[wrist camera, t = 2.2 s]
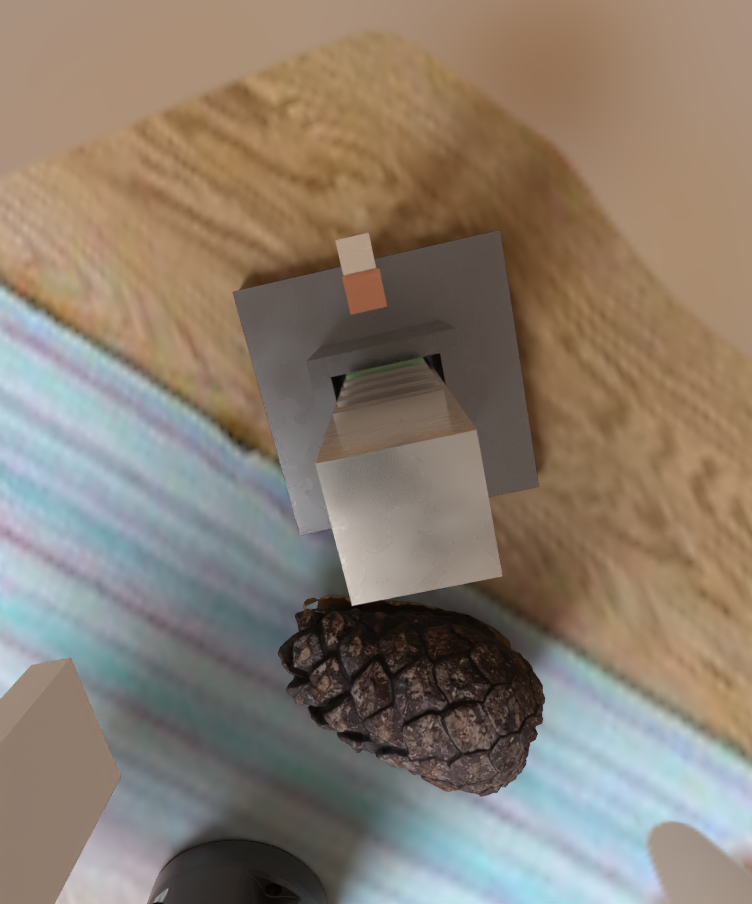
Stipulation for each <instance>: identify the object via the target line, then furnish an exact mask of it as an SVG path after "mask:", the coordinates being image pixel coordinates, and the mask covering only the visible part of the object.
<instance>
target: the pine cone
mask: <svg viewBox="0 0 752 904" xmlns="http://www.w3.org/2000/svg"><path fill="white" fill-rule="evenodd" d="M316 601H318V606H317V609H312V610H311V609H307V608H306V609H305V607H306V606H307V605H309V604H311V603H313V602H316ZM303 607H304V609H305V610H304V611H301V612H298V613H296V615H295V618H296V620H297V623H298V629H299V632H297V633H296V634H294V635H293V636H292V637H290V638H289V639H288V640H287V641H286V642H285V643H284V644H283V645H282V646H281V647H280V648H279V651H278V655H279V657H280V658H281V660H282V666H283V667H284V668H285V669H286V670H287V672H288V673H290V674H293V675H294V676H295V677H294V679H293V680H292V681H291V682H290V683H289V685H288V687H287V689H286V691H287V693H288V694H289V695H291V696H292V697H293V699H294V700H295V702H296V704H298V705H303V704H309V705H310V706H309V707H308V708H309V712H310V715H311V718H312V719H313V720H314V721H315V722H316V723H317V725H318V726H319V727H321V728H323V729H327V730H333V731H337V735H338V738H339V739H340V740H342V741H344V742H346V743H347V744H349V745H350V746H351V747H352V748H353V749H354V750H355V751H356V753H360V752H361V750H363V749H364V750H366V751H369V752H371V753H375V754H376V756H377V758H378V759H380V760H381V761H385V762H387V763H388V764H389V765H391V766H393V767H396V768H406V769H407V770H408V771H409V772H410V773H412V774H414V775H416V774H419V775H421V777H422V779H424V780H425V781H427V782H429V783H431V784H433V785H435V786H437V787H439V788H441V789H443V790H444V791H447V792H449V791H452V790H462V791H465V792H469V793H475V794H479V795H480V796H486V795H489V794H492V793H497V792H498V791H499V789H500V788H501V787H506V786H507V785H508V784H509V783H510V782H512V781H513V780H515V779H516V777H517V775H518V774H520V773H521V772H522V770H523V768H524V767H525V766H526V758H527V756H528V751H529V746H530V742H532V741H534V740H536V737H537V735H538V733H537V731H536V728H535V727H536V726H537V725H540V724H542V721H543V717H542V711H543V704H544V703H545V697H544V694H543V685H542V683H541V682H540V680H539V679H538V677H537V676H536V674H535V673H534V671H533V669H532V666H531V665H530V663H529V662H528V661H527V660H525V659H524V658H523V657H522V655H521V654H520V653H517V652H515V651H514V650H512V649H511V646H510V642H509V641H508V640H507V639H506V638H505V637H504V636H503V635H502V634H501V633H500V632H498V631H497V630H496V629H494V628H492V627H490V626H488V625H486V624H484V623H482V622H481V621H479V620H477V619H475V618H473V617H471V616H469V615H465V614H460V613H457V612H452V611H445V610H442V609H438V608H435V607H430V606H426V605H421V604H417V603H412V602H398V601H386V600H379V601H374V602H369V603H364V604H358V605H353V606H352V603H351V599H350V597H345V596H335V595H327V596H324V597H322V598H320V599H319V600H318V599H316V598H310V599H307V600H306V601H305V602H304V605H303Z"/></svg>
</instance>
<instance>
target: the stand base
mask: <svg viewBox="0 0 752 904" xmlns="http://www.w3.org/2000/svg"><path fill="white" fill-rule="evenodd" d="M335 241H336V245H337V250H338V254H339V259H340V263H341V267H338V268H333V269H329V270H325V271H320V272H316V273H312V274H307V275H303V276H299V277H294V278H290V279H286V280H281V281H277V282H273V283H269V284H264V285H260V286H256V287H251V288H247V289H243V290H238V291H234V292H233V295H234V299H235V303H236V306H237V310H238V313H239V317H240V321H241V324H242V328H243V331H244V335H245V339H246V342H247V346H248V349H249V353H250V357H251V360H252V364H253V367H254V371H255V375H256V378H257V382H258V385H259V389H260V393H261V396H262V400H263V404H264V407H265V411H266V414H267V418H268V422H269V425H270V429H271V432H272V436H273V440H274V443H275V447H276V450H277V454H278V458H279V461H280V465H281V468H282V472H283V476H284V479H285V483H286V486H287V490H288V494H289V497H290V501H291V504H292V508H293V512H294V515H295V519H296V523H297V526H298V530H299V533H300V535H305V534H309V533H314V532H319V531H324V530H329V529H332V526H331V522H330V519H329V515H328V511H327V507H326V503H325V499H324V495H323V492H322V488H321V484H320V480H319V476H318V472H317V469H316V465H315V463H316V460H317V457H318V455H319V452H320V449H321V446H322V443H323V440H324V437H325V434H326V432H327V429H328V426H329V423H330V420H331V417H332V414H333V411H334V409H335V406H336V403H337V400H338V397H339V394H340V391H341V388H342V386H343V383H344V380H345V377H346V374H347V373H352V372H356V371H361V370H365V369H370V368H374V367H379V366H384V365H388V364H393V363H397V362H402V361H406V360H411V359H415V358H420V357H425V356H426V358H427V359H428V360H429V362H430V363H431V365H432V366H433V368H434V369H435V370H436V372H437V373H438V375H439V376H440V378H441V379H442V381H443V382H444V383H445V385H446V386H447V388H448V389H449V391H450V392H451V394H452V395H453V396H454V398H455V399H456V401H457V402H458V404H459V405H460V406H461V408H462V409H463V411H464V412H465V414H466V415H467V417H468V418H469V419H470V421H471V422H472V424H473V425H474V427H475V428H476V430H477V434H478V440H479V446H480V451H481V457H482V463H483V468H484V474H485V480H486V485H487V491H488V497H491V496H496V495H501V494H506V493H511V492H516V491H521V490H526V489H531V488H536V487H539V484H538V477H537V471H536V464H535V457H534V451H533V444H532V437H531V431H530V424H529V417H528V411H527V404H526V398H525V391H524V384H523V378H522V371H521V364H520V358H519V351H518V344H517V338H516V331H515V325H514V318H513V311H512V305H511V298H510V291H509V285H508V278H507V271H506V265H505V258H504V252H503V245H502V238H501V232H500V230H498V231H493V232H489V233H485V234H480V235H476V236H472V237H467V238H463V239H459V240H454V241H450V242H446V243H441V244H437V245H433V246H428V247H424V248H420V249H415V250H411V251H407V252H402V253H398V254H394V255H390V256H385V257H381V258H377V259H374V256H373V251H372V246H371V241H370V237H369V233H365V234H361V235H356V236H352V237H348V238H344V239H339V240H335Z"/></svg>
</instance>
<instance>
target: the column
mask: <svg viewBox="0 0 752 904" xmlns="http://www.w3.org/2000/svg"><path fill="white" fill-rule="evenodd" d="M315 465H316V469H317V472H318V476H319V480H320V484H321V488H322V492H323V495H324V499H325V503H326V507H327V511H328V515H329V519H330V522H331V526H332V530H333V534H334V538H335V542H336V545H337V549H338V553H339V557H340V561H341V565H342V569H343V572H344V576H345V580H346V584H347V588H348V592H349V595H350V599H351V603H352V606H353V605H358V604H364V603H369V602H374V601H379V600H384V599H389V598H394V597H400V596H405V595H410V594H415V593H420V592H425V591H430V590H435V589H441V588H446V587H451V586H456V585H461V584H466V583H471V582H477V581H482V580H487V579H492V578H497V577H502V570H501V564H500V559H499V553H498V548H497V542H496V536H495V531H494V525H493V519H492V514H491V508H490V502H489V497H488V491H487V485H486V480H485V474H484V468H483V463H482V457H481V451H480V446H479V440H478V434H477V430H476V428H475V427H474V425H473V424H472V422H471V421H470V419H469V418H468V417H467V415H466V414H465V412H464V411H463V409H462V408H461V406H460V405H459V404H458V402H457V401H456V399H455V398H454V396H453V395H452V394H451V392H450V391H449V389H448V388H447V386H446V385H445V383H444V382H443V381H442V379H441V378H440V376H439V375H438V373H437V372H436V370H435V369H434V368H433V366H432V365H431V363H430V362H429V360H428V359H427V358H426V356H425V357H420V358H415V359H411V360H406V361H402V362H397V363H393V364H388V365H384V366H379V367H374V368H370V369H365V370H361V371H356V372H352V373H347V374H346V377H345V380H344V383H343V386H342V388H341V391H340V394H339V397H338V400H337V403H336V406H335V409H334V411H333V414H332V417H331V420H330V423H329V426H328V429H327V432H326V434H325V437H324V440H323V443H322V446H321V449H320V452H319V455H318V457H317V460H316V463H315Z"/></svg>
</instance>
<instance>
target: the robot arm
mask: <svg viewBox="0 0 752 904" xmlns="http://www.w3.org/2000/svg"><path fill="white" fill-rule="evenodd" d="M120 778H121V775H120V773H119V770H118V768H117V766H116V763H115V761H114V759H113V756H112V754H111V752H110V749H109V747H108V744H107V742H106V740H105V737H104V735H103V733H102V730H101V728H100V726H99V723H98V721H97V718H96V716H95V714H94V711H93V709H92V707H91V704H90V702H89V700H88V697H87V695H86V692H85V690H84V688H83V685H82V683H81V681H80V678H79V676H78V674H77V671H76V669H75V666H74V664H73V662H72V659H71V658H67V659H62V660H57V661H51V662H46V663H41V664H36V665H31V666H30V667H29V669H28V670H27V671H26V672H25V673H24V674H23V675H22V676H21V677H20V678H19V680H18V681H17V682H16V683H15V684H14V685H13V686H12V687H11V688H10V689H9V691H8V692H7V693H6V694H5V695H4V696H3V697H2V698H1V699H0V904H55V902H56V900H57V898H58V896H59V894H60V892H61V891H62V889H63V887H64V885H65V883H66V881H67V879H68V877H69V875H70V873H71V871H72V869H73V868H74V866H75V864H76V862H77V860H78V858H79V856H80V854H81V852H82V850H83V848H84V846H85V845H86V843H87V841H88V839H89V837H90V835H91V833H92V831H93V829H94V827H95V825H96V824H97V822H98V820H99V818H100V816H101V814H102V812H103V810H104V808H105V806H106V804H107V802H108V801H109V799H110V797H111V795H112V793H113V791H114V789H115V787H116V785H117V783H118V781H119V779H120ZM147 904H328V903H327V898H326V895H325V892H324V890H323V888H322V886H321V884H320V882H319V881H318V879H317V878H316V876H315V875H314V874H313V873H312V872H311V871H310V870H309V869H308V868H307V867H306V866H305V865H304V864H303V863H301V862H300V861H299V860H297V859H296V858H294V857H293V856H291V855H289V854H288V853H286V852H283V851H281V850H279V849H277V848H274V847H271V846H268V845H264V844H260V843H256V842H249V841H236V840H233V841H218V842H212V843H207V844H204V845H200V846H197V847H195V848H192V849H190V850H188V851H186V852H184V853H182V854H180V855H179V856H177V857H176V858H174V859H173V860H172V861H171V862H170V863H169V864H168V865H167V866H166V867H165V868H164V869H163V870H162V871H161V873H160V874H159V876H158V878H157V879H156V882H155V884H154V886H153V889H152V892H151V894H150V897H149V900H148V903H147Z"/></svg>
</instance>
